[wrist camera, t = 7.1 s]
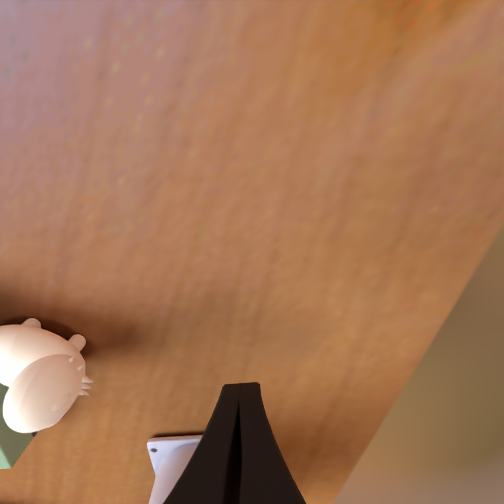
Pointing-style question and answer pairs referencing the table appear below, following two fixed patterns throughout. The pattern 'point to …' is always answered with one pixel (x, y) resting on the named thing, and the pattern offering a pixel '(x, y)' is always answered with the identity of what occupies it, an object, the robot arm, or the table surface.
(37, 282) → the table surface
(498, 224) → the table surface
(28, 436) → the block
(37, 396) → the toy creature
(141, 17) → the table surface
